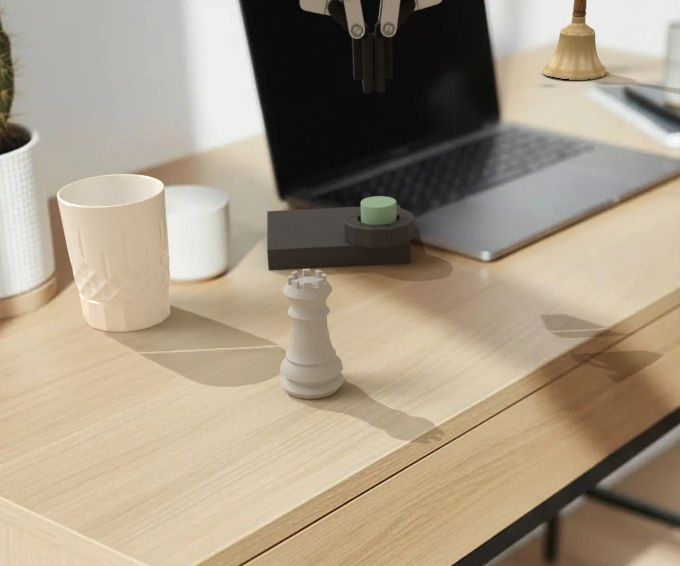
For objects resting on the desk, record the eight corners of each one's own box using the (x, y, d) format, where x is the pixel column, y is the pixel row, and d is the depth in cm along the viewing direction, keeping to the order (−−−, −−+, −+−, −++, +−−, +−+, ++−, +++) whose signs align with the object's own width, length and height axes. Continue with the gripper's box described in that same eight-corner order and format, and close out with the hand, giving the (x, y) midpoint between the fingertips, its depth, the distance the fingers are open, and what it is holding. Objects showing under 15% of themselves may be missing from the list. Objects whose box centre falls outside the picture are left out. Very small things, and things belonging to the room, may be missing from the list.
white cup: (150, 341, 90) (133, 210, 84) (58, 330, 92) (36, 202, 87) (195, 301, 96) (182, 177, 91) (107, 292, 98) (89, 170, 93)
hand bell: (613, 68, 159) (624, -65, 150) (597, 82, 152) (608, -56, 144) (552, 64, 162) (560, -66, 153) (534, 78, 155) (541, -57, 147)
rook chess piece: (319, 366, 85) (314, 258, 81) (358, 387, 82) (355, 276, 78) (267, 385, 83) (259, 275, 79) (305, 407, 80) (299, 294, 76)
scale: (404, 224, 110) (404, 186, 108) (417, 268, 100) (417, 227, 99) (268, 231, 109) (265, 193, 108) (268, 275, 100) (265, 235, 98)
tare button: (394, 215, 102) (394, 195, 102) (398, 226, 100) (398, 206, 99) (359, 216, 102) (359, 196, 101) (362, 228, 100) (361, 208, 99)
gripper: (258, -176, 80) (277, 105, 90) (481, -187, 80) (475, 95, 90) (259, -181, 87) (277, 82, 96) (466, -191, 87) (462, 72, 97)
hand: (373, 88), depth 93 cm, fingers closed
